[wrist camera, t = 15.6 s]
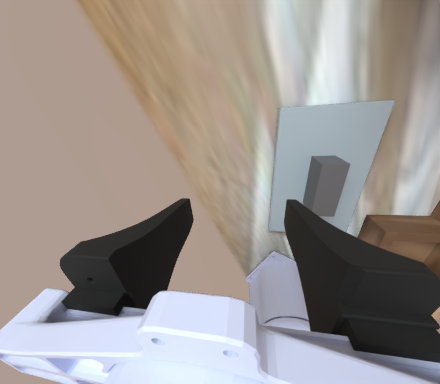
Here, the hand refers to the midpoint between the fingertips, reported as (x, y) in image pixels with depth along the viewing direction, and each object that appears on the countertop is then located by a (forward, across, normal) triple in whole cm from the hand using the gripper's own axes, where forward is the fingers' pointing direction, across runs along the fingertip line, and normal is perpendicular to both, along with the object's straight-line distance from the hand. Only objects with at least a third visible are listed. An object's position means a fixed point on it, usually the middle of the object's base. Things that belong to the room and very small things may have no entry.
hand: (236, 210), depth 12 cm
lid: (+10, -9, +2) cm, 14 cm away
